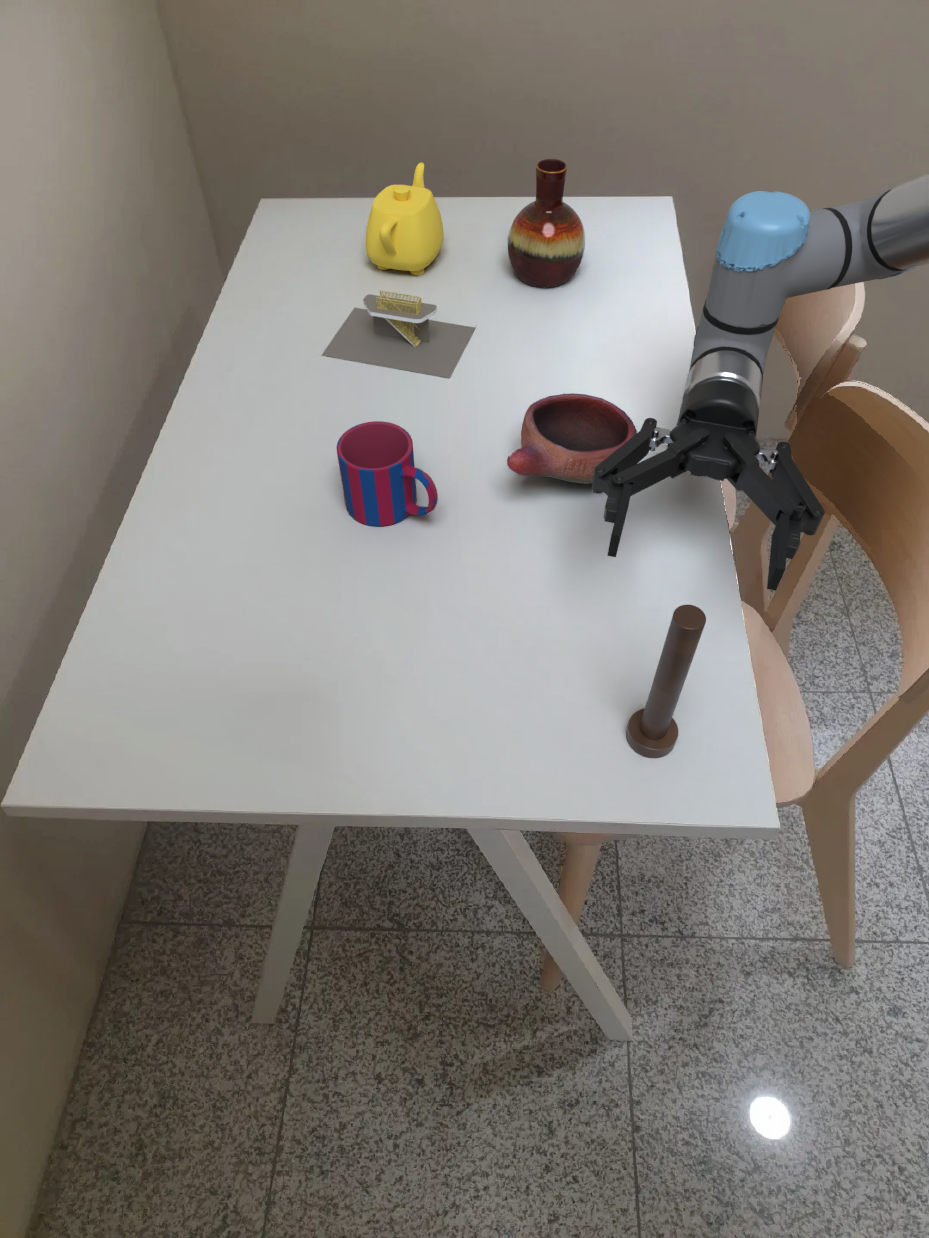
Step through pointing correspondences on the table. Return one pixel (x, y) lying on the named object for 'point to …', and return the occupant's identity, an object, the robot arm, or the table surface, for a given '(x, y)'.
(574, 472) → the bowl
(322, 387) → the table surface
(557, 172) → the vase
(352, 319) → the platform
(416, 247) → the teapot
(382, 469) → the mug
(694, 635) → the muddler
